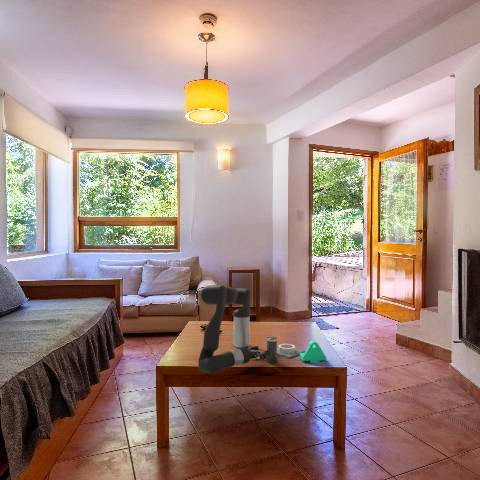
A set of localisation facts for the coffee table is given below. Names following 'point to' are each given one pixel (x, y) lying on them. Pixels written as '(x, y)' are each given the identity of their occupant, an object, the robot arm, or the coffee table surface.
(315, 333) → the coffee table surface
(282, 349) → the mount plate
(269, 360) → the lens
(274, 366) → the coffee table surface
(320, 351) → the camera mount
